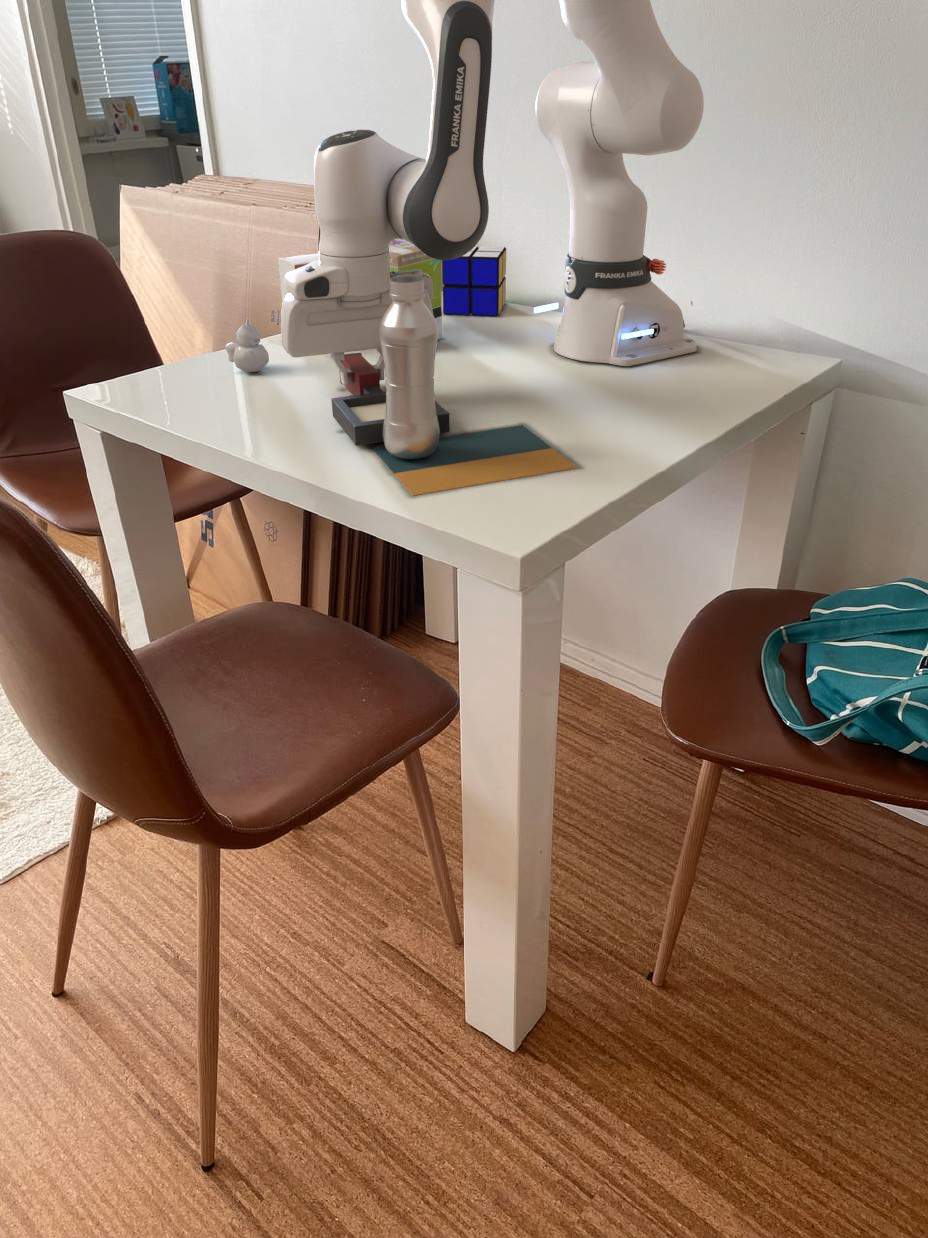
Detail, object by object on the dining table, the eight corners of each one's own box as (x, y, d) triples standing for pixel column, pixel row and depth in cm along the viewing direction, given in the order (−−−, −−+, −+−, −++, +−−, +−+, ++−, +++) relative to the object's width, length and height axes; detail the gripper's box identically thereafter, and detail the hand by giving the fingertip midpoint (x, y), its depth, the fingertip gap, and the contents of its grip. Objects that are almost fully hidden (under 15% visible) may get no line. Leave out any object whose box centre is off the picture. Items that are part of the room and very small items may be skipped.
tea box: (336, 335, 155) (329, 241, 147) (379, 323, 161) (375, 232, 153) (401, 352, 146) (397, 253, 138) (444, 338, 153) (443, 243, 145)
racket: (309, 386, 130) (306, 358, 128) (391, 376, 134) (390, 348, 132) (355, 445, 111) (353, 413, 109) (449, 432, 115) (449, 400, 113)
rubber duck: (261, 377, 136) (254, 321, 132) (220, 374, 137) (212, 318, 133) (277, 366, 140) (271, 312, 136) (237, 363, 142) (230, 309, 137)
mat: (522, 428, 119) (522, 424, 119) (577, 471, 107) (577, 467, 107) (372, 451, 113) (372, 447, 112) (413, 499, 101) (412, 495, 101)
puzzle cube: (442, 314, 166) (441, 255, 161) (452, 301, 174) (451, 244, 169) (498, 316, 164) (499, 257, 159) (505, 303, 173) (506, 246, 167)
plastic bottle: (383, 445, 113) (374, 273, 102) (439, 443, 113) (435, 271, 103) (383, 466, 107) (374, 286, 97) (442, 464, 108) (439, 285, 97)
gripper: (424, 263, 124) (427, 366, 131) (272, 276, 118) (283, 383, 125) (440, 272, 119) (442, 379, 126) (282, 286, 113) (294, 397, 120)
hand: (362, 381), depth 126 cm, fingers closed on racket, 3 cm apart
